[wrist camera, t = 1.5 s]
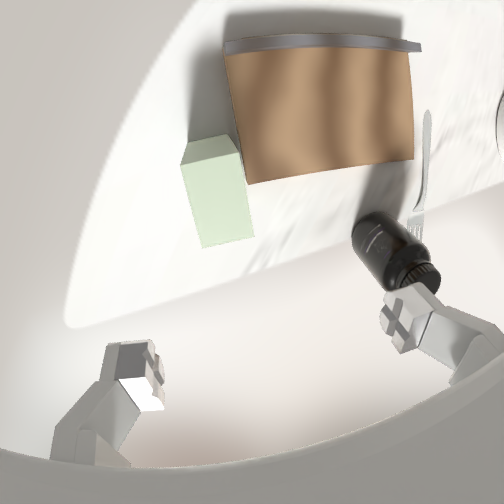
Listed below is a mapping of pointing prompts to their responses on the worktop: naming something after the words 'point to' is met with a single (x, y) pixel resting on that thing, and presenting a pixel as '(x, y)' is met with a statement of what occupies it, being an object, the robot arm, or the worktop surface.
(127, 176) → the worktop surface
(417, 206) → the fork
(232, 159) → the carton
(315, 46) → the shelf board
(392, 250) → the supplement bottle
